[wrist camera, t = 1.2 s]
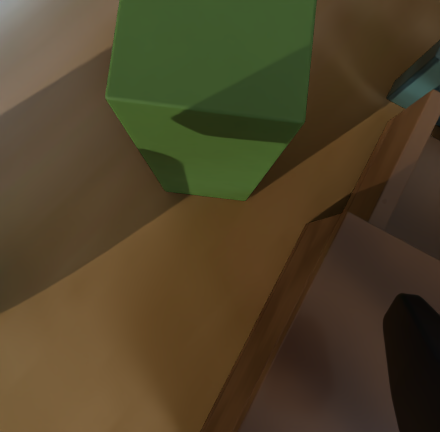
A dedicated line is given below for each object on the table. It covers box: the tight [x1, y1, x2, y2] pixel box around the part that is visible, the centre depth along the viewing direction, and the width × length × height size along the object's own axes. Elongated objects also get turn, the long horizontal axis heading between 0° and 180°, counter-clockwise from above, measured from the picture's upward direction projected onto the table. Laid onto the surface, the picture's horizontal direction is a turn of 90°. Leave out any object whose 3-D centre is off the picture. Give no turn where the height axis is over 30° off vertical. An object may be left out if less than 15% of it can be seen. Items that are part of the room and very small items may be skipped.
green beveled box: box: [105, 0, 317, 201], centre depth 15 cm, size 4×4×13 cm
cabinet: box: [200, 211, 440, 432], centre depth 18 cm, size 13×11×6 cm
